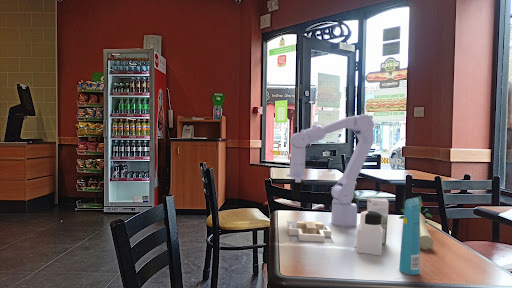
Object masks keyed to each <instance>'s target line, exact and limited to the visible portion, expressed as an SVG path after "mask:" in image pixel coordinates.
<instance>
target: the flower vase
mask: <svg viewBox="0 0 512 288" xmlns="http://www.w3.org/2000/svg"><path fill="white" fill-rule="evenodd" d="M413 198H415V197H413ZM413 198H412V199H413ZM418 199H419V208H420V249H422V250H429V249H431V248H433V246H434V242H435V241H434V240H433V238H432V236H431V234H430V233H429V231H428V229H427V227H426V224H428V221H427V220H426V217H428V218H433V216H432V215H431V214H430V213H429V212H426V211H429V209H428V208H425V209H424V211H423V210H421V208H422V207H423V202H422V197H421V195H419V196H418ZM405 205H406V200H404V207H405ZM400 211H401V212H402V213H404V212H405V209H403V208H402V209H400ZM421 211H422V212H423V213H425V212H426V213H425V216H426V217H425V216H424V215H423V214H422V212H421ZM398 219H400V220H403V219H404V215H400V216H399V217H398Z"/></svg>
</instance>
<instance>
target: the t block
mask: <svg viewBox="0 0 512 288" xmlns="http://www.w3.org/2000/svg"><path fill="white" fill-rule="evenodd" d="M295 222H296V229H301V230H302V233H304V234H319V230H323V224H324V223H323V222H322V221H307V220H306V221H305V220H304V221H303V220H296V221H295Z"/></svg>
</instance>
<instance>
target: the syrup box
mask: <svg viewBox="0 0 512 288" xmlns="http://www.w3.org/2000/svg"><path fill="white" fill-rule="evenodd" d="M366 201H367V203H366V204H367V205H366V206H367V207H366V211H374V212H378V213H380V214H381V227H382V228H383V236H382V245H386V244H387V234H388V219H389V218H388V217H389V205H390V202H389V200H388V199H387V198H384V197H370V196H369V197H367V200H366Z"/></svg>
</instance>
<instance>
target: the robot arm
mask: <svg viewBox="0 0 512 288" xmlns="http://www.w3.org/2000/svg"><path fill="white" fill-rule="evenodd" d="M374 128H375V123H374V121H373V118H372V117H371V115H368V114H365V113H364V114H360V115H352V116H348V117H344V118H341V119H339V120H336V121H334V122H331V123H328V124H326V125H324V126H321V125H320V124H317V125H316V124H314V125H311V127H309V128H306V129H301V130H300V132H296V133H292V135H291V137H290V139H289V143H290V145H291V148H290V149H291V150H290V157H289V158H290V161H289V162H290V163H289V174H286V177H289V178H292V179H289V183H290V185H291V186H290V187H291V190H292V191H291V193H292V194H291V195H292V198H293V199H294V200H299V199H300V195H301V191H302V188H303V187H304V184H305V180H304V179H305V178H306V175H305V173H306V172H305V169H306V155H307V154H306V146H307V145H311V144H313V143H315V142H319V141H322V140H324V139H325V137H326V135H328V134H331V133H333V132H337V131H339V130H343V129H348V130H349V129H351V131H352V132H353V134H355V135H356V137H357V140H358V142H357V144H356V147H355V149H354V151H353V153H352V155H351V157H350V159H349V162H348V164H347V166H346V167H345V170H344V171H343V175H342V176H341V177H340V178H339V179H338V180H337V183H336V184H335V185H333V186H332V188H331V191H330V193H331V196H332V198H333V199H332V202H331V222H330V223H331V224H332V225H334V226H341V227H343V226H344V227H349V226H350V227H357V226H358V225H357V222H358V207H357V204H356V203H352V200H353V199H354V197H355V195H354V193H355V192H354V191H355V189H356V181H357V179H358V176H359V175H360V172H361V170H362V167H363V166H364V164H365V161H366V159H367V157H368V155H369V152H370V150H371V148H372V146H373V144H374V141H375V138H374V137H375V133H374Z"/></svg>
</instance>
